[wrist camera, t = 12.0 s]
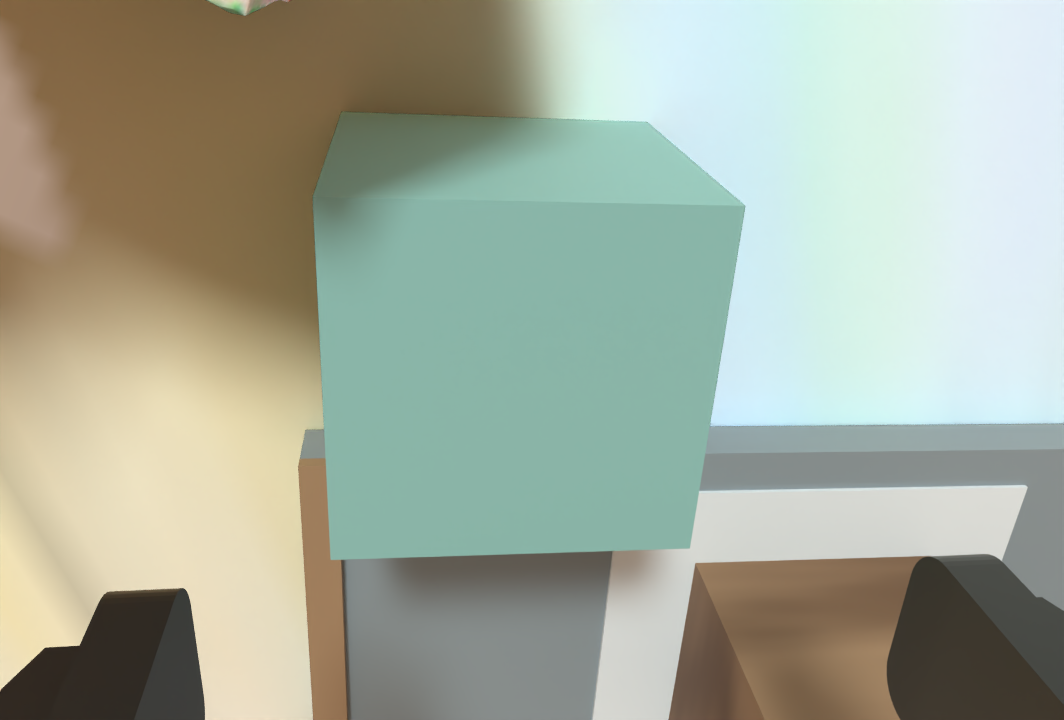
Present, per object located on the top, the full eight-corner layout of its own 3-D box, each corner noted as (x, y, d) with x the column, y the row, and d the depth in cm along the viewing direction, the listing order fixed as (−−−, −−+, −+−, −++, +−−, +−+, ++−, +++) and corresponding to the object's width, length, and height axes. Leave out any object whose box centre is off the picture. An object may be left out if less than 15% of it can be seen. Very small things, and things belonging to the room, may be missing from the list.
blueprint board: (305, 429, 20) (298, 466, 19) (1256, 421, 23) (1308, 452, 22) (325, 801, 25) (321, 850, 24) (1102, 752, 29) (1136, 793, 27)
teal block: (341, 110, 17) (312, 196, 12) (645, 121, 18) (745, 205, 13) (351, 387, 20) (330, 559, 15) (616, 386, 21) (689, 548, 15)
